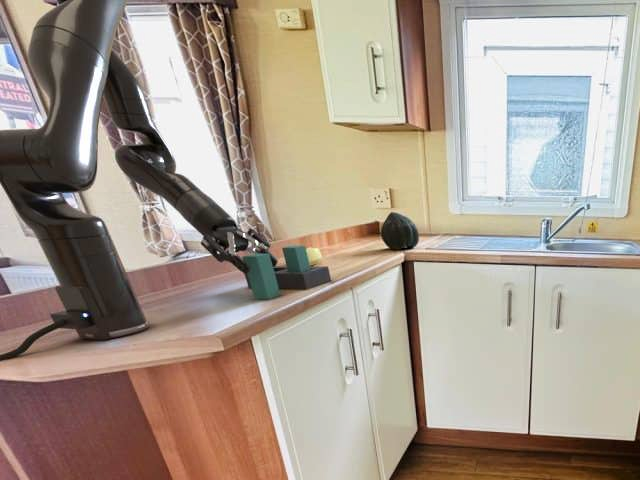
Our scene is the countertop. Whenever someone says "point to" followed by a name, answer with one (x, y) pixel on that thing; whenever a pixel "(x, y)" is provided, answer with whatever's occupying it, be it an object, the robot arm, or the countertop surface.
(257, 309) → the countertop surface
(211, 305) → the countertop surface
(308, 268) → the block
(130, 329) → the robot arm
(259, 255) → the green block
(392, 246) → the squash
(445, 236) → the countertop surface
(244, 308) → the countertop surface
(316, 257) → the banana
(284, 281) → the mount
